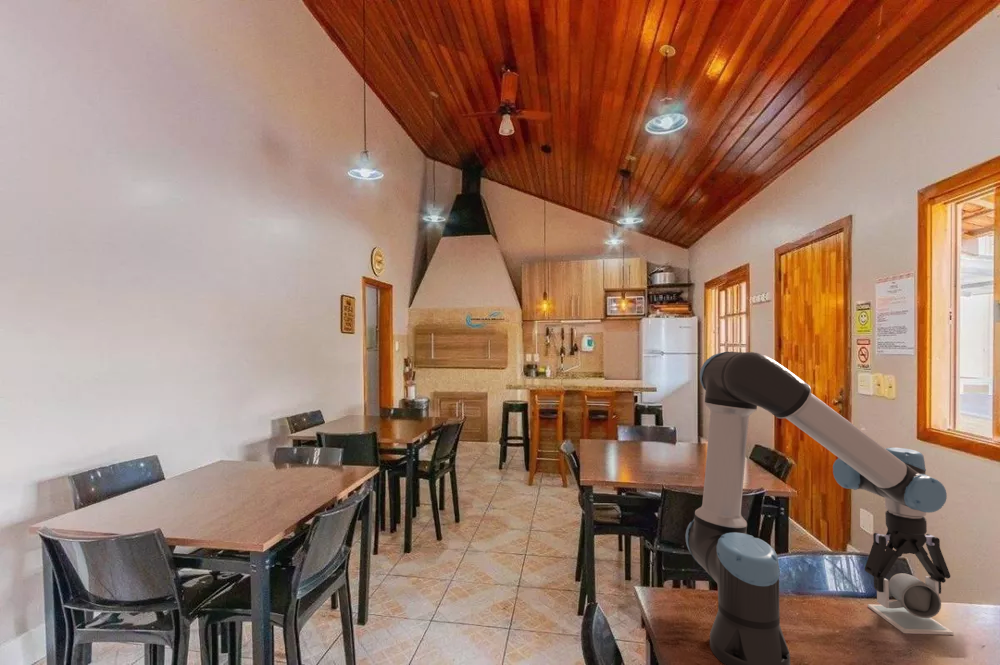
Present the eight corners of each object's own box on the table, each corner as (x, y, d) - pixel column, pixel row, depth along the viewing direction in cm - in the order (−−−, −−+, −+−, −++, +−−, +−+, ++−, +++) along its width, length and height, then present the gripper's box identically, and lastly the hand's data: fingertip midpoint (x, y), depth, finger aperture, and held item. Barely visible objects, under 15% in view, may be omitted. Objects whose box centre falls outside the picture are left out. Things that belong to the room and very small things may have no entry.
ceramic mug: (921, 602, 115) (919, 570, 115) (943, 621, 107) (941, 587, 107) (871, 596, 117) (869, 566, 118) (888, 614, 110) (886, 581, 110)
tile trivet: (903, 633, 106) (903, 630, 106) (867, 606, 117) (867, 604, 117) (953, 634, 106) (953, 631, 106) (912, 607, 117) (912, 605, 117)
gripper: (867, 517, 109) (869, 612, 108) (970, 520, 108) (973, 616, 107) (845, 507, 117) (847, 595, 116) (941, 509, 116) (943, 598, 115)
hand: (907, 605), depth 112 cm, fingers closed on ceramic mug, 11 cm apart
